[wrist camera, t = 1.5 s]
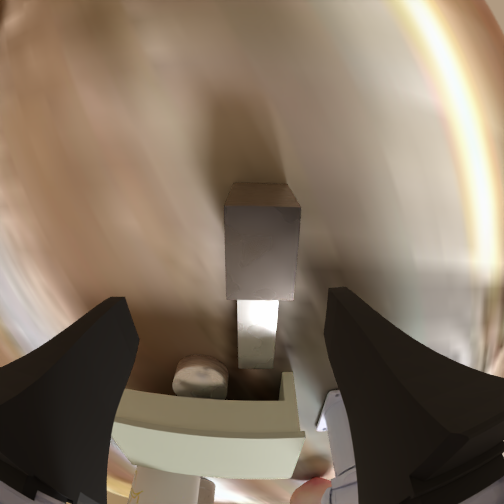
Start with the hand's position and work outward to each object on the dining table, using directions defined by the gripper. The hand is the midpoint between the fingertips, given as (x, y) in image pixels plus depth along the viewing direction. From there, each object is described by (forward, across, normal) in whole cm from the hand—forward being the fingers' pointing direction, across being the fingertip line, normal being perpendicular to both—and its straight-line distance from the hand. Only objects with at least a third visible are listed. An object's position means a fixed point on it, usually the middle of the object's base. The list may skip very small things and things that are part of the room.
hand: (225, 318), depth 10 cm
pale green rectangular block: (+10, +4, +19) cm, 22 cm away
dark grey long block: (+11, -1, +6) cm, 12 cm away
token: (+10, +4, +15) cm, 19 cm away
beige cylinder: (+10, +11, +30) cm, 33 cm away
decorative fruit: (+9, -9, +45) cm, 47 cm away
